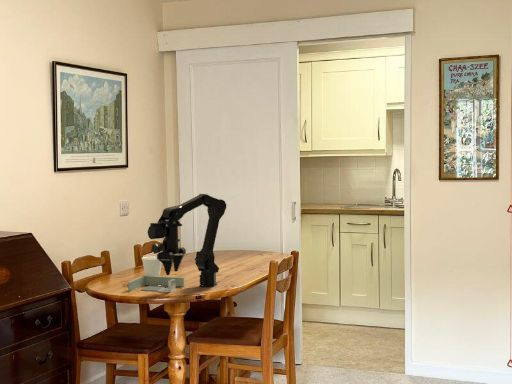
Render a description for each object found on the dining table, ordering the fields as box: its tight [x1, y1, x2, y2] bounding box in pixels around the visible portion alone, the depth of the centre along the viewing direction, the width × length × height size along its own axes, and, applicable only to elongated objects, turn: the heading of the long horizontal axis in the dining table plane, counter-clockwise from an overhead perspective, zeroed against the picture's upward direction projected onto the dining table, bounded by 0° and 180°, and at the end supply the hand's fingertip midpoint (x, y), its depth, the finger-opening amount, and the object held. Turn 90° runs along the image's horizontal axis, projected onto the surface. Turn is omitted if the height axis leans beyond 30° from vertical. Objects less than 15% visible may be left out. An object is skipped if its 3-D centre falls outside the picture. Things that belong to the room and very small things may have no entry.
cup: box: [141, 255, 163, 276], centre depth 316 cm, size 10×10×11 cm
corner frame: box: [127, 275, 185, 292], centre depth 298 cm, size 20×16×4 cm
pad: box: [140, 285, 168, 292], centre depth 298 cm, size 8×11×1 cm
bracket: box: [157, 279, 176, 294], centre depth 292 cm, size 6×5×5 cm
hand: (171, 273), depth 291 cm, fingers open, 9 cm apart
